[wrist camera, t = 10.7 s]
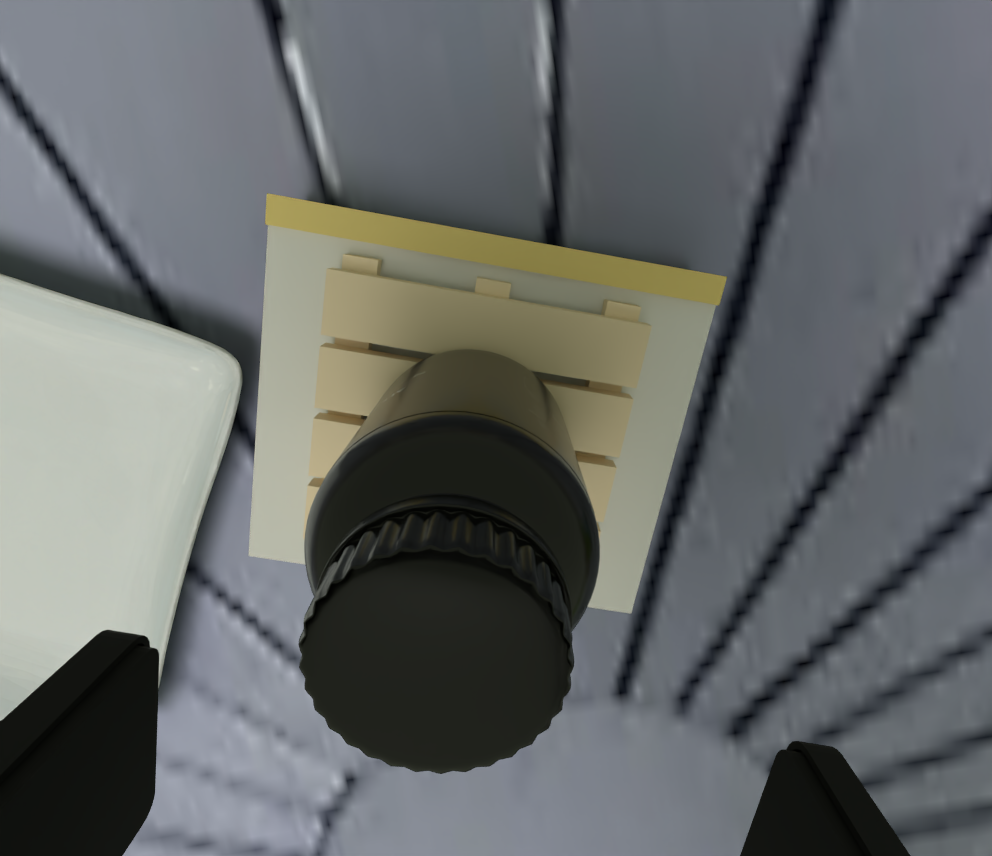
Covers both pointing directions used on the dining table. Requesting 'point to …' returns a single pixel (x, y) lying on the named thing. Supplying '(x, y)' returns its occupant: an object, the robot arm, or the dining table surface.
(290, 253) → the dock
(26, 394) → the salad plate
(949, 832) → the dining table surface
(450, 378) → the supplement bottle
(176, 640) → the dining table surface
